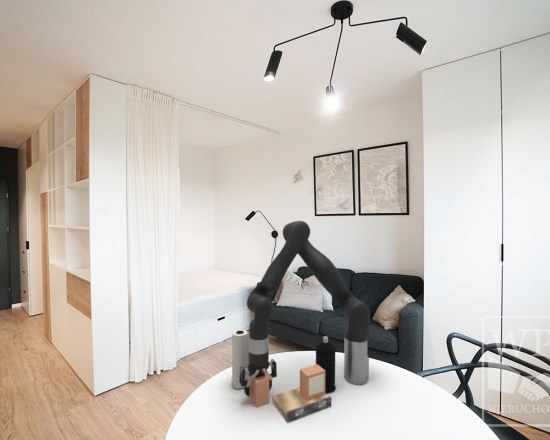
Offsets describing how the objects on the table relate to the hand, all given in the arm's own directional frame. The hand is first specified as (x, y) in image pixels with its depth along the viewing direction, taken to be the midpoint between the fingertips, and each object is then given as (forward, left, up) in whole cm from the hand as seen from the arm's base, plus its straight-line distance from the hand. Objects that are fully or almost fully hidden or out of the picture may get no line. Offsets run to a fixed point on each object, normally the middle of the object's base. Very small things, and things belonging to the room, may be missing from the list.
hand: (258, 392), depth 102 cm
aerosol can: (-27, +5, -3) cm, 28 cm away
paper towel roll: (+3, -11, -3) cm, 12 cm away
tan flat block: (-13, +9, -3) cm, 16 cm away
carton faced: (-18, +9, -1) cm, 20 cm away
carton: (0, 0, -3) cm, 3 cm away
